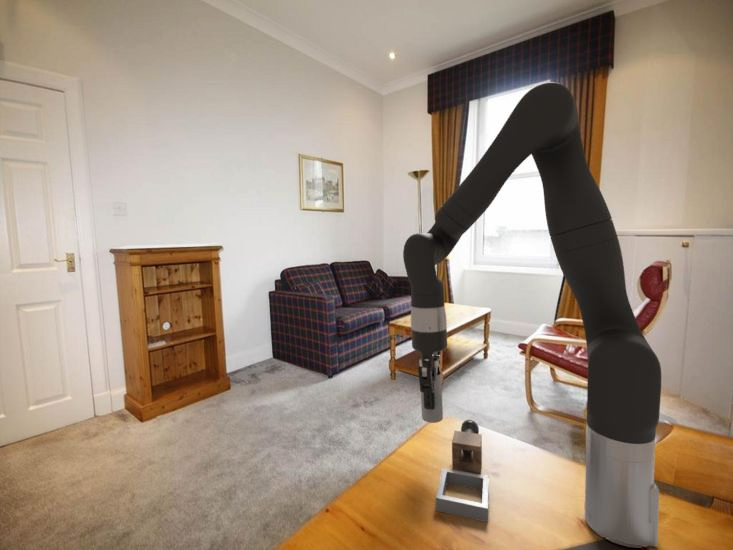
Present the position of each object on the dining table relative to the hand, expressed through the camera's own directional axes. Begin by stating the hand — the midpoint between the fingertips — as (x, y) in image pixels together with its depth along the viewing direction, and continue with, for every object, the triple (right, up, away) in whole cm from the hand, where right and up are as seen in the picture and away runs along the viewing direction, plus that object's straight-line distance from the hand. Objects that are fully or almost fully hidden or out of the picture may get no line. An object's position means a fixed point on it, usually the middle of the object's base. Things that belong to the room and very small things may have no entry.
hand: (431, 403), depth 77 cm
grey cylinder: (0, -4, 0) cm, 4 cm away
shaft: (+9, -11, +4) cm, 15 cm away
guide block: (+8, -14, 0) cm, 16 cm away
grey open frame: (+4, -15, -10) cm, 18 cm away
